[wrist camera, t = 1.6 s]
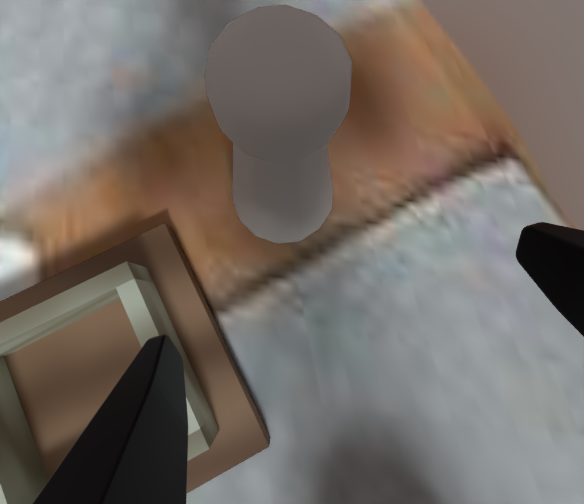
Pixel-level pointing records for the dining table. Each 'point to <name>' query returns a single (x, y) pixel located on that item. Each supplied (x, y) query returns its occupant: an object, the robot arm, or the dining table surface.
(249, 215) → the salt shaker
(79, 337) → the stand
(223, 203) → the dining table surface
